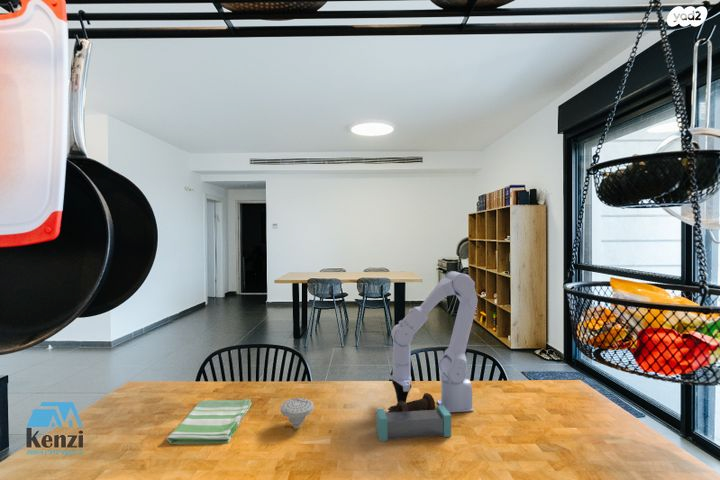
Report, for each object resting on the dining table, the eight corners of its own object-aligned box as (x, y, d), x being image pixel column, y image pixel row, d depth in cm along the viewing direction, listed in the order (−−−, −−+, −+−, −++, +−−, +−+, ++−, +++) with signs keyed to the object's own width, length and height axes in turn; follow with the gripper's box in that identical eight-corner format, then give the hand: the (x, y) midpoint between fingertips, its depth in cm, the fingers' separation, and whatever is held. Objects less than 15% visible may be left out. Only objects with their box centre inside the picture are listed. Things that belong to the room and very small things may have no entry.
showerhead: (272, 406, 102) (293, 392, 111) (272, 431, 102) (293, 416, 111) (300, 413, 98) (319, 398, 107) (300, 439, 98) (319, 422, 107)
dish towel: (252, 405, 119) (252, 396, 119) (230, 445, 96) (230, 435, 96) (198, 406, 118) (198, 397, 118) (162, 447, 95) (162, 437, 95)
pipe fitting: (443, 425, 105) (443, 405, 105) (451, 436, 99) (451, 415, 99) (376, 429, 103) (376, 408, 103) (380, 441, 97) (380, 419, 97)
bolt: (388, 423, 110) (429, 412, 116) (395, 422, 106) (437, 411, 112) (384, 403, 113) (424, 393, 118) (390, 401, 109) (431, 391, 114)
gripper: (385, 355, 122) (385, 395, 122) (394, 371, 107) (394, 416, 107) (405, 354, 123) (405, 394, 123) (416, 370, 108) (416, 415, 108)
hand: (401, 404), depth 115 cm, fingers closed
